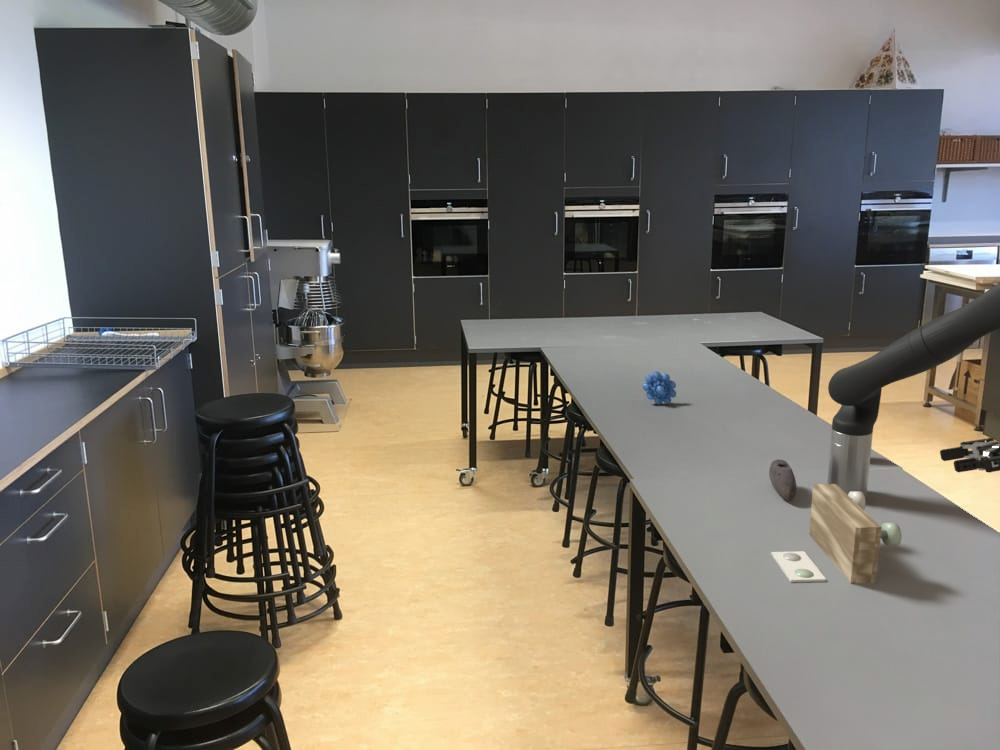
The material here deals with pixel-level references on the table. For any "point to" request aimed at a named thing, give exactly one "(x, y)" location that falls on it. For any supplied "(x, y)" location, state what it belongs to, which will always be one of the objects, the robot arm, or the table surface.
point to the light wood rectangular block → (845, 533)
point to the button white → (858, 498)
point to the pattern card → (798, 567)
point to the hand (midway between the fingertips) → (947, 461)
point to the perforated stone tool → (783, 479)
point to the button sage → (891, 534)
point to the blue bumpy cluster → (659, 388)
